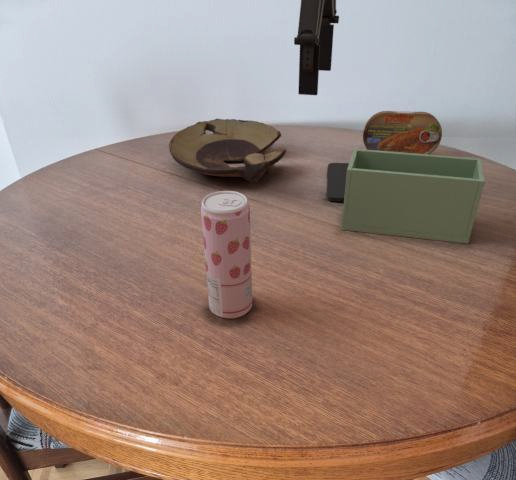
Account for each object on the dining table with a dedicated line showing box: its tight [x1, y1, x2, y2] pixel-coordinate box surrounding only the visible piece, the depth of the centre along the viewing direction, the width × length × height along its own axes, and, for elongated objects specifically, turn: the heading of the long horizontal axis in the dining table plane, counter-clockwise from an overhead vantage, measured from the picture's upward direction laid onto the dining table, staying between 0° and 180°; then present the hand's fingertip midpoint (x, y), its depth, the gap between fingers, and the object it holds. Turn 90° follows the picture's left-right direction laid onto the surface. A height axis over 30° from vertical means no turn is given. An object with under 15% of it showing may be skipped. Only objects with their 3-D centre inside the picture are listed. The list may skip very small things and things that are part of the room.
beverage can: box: [200, 190, 253, 319], centre depth 67 cm, size 6×6×15 cm
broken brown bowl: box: [168, 118, 287, 183], centre depth 102 cm, size 22×30×8 cm
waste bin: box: [341, 148, 486, 245], centre depth 85 cm, size 19×8×10 cm, turn 76°
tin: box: [362, 110, 443, 155], centre depth 107 cm, size 15×3×8 cm, turn 80°
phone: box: [326, 162, 349, 203], centre depth 99 cm, size 7×1×15 cm
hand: (315, 81), depth 84 cm, fingers open, 13 cm apart
